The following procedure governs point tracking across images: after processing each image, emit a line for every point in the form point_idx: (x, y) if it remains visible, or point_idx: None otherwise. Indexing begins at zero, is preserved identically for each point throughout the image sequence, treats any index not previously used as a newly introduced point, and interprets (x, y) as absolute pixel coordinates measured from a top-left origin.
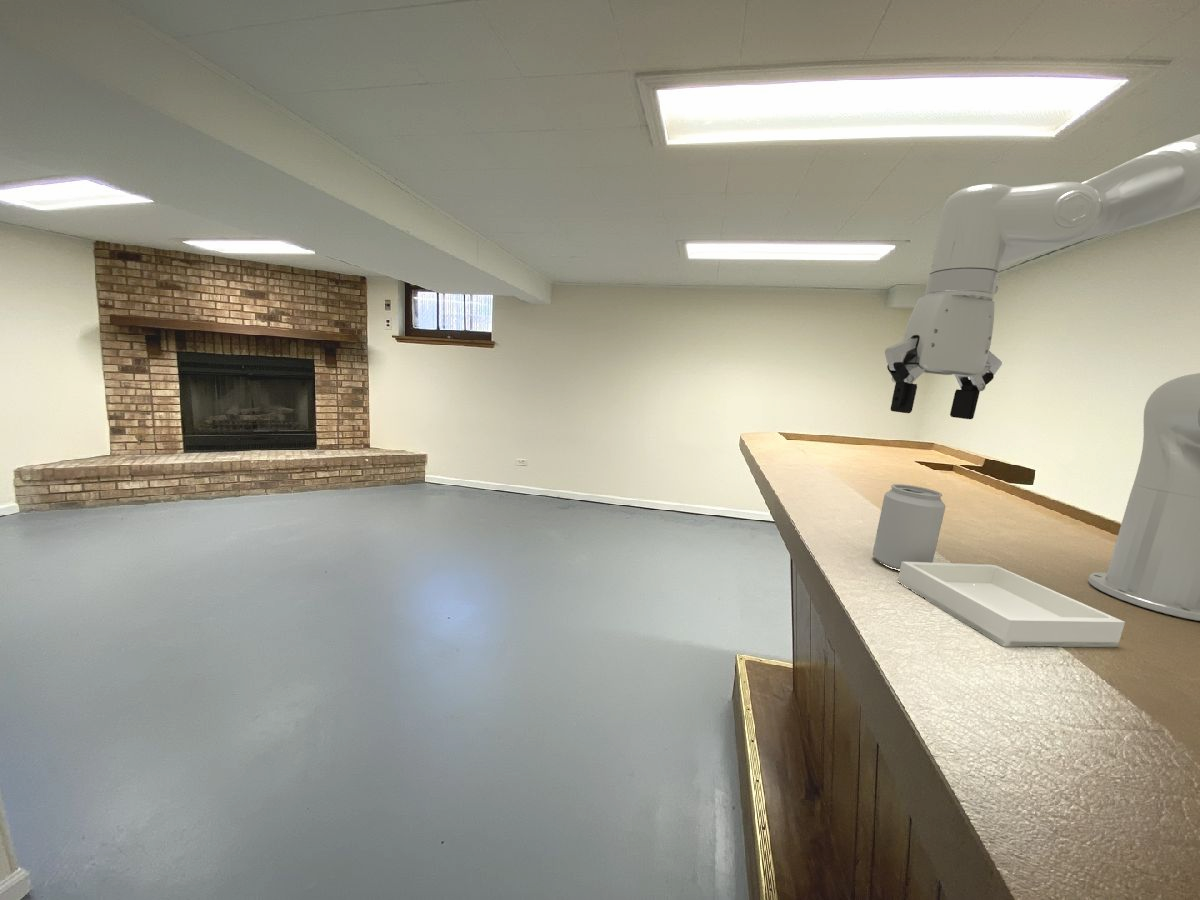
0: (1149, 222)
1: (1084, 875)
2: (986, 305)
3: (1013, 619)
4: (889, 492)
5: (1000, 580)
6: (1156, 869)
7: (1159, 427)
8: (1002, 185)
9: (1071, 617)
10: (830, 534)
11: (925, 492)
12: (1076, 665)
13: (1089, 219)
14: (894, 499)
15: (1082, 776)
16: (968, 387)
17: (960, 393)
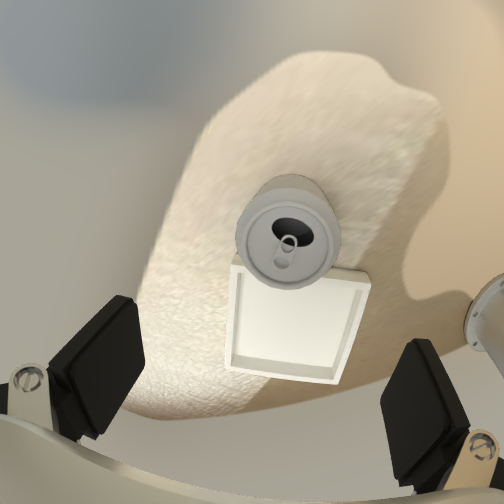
0: None
1: (130, 409)
2: None
3: (229, 369)
4: (246, 217)
5: (357, 292)
6: (152, 417)
7: None
8: None
9: (292, 376)
10: (277, 84)
11: (282, 271)
12: (263, 376)
13: None
14: (236, 240)
15: (164, 403)
16: (421, 477)
17: (426, 435)
